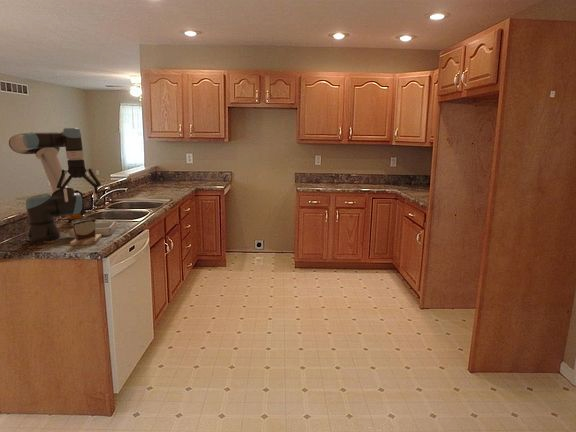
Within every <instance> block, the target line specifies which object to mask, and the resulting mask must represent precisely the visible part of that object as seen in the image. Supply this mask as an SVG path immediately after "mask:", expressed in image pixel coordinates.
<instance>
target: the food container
mask: <svg viewBox="0 0 576 432" xmlns="http://www.w3.org/2000/svg"><path fill="white" fill-rule="evenodd" d="M95 223H97V220H96V217H83V218H81V219H76V220H73V221H72V222H71V225H70V226H71V227H72V228H74V232H75V236H76V240H77V241H80V240H84V239H89V238H93V237H96V234H95Z"/></svg>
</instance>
